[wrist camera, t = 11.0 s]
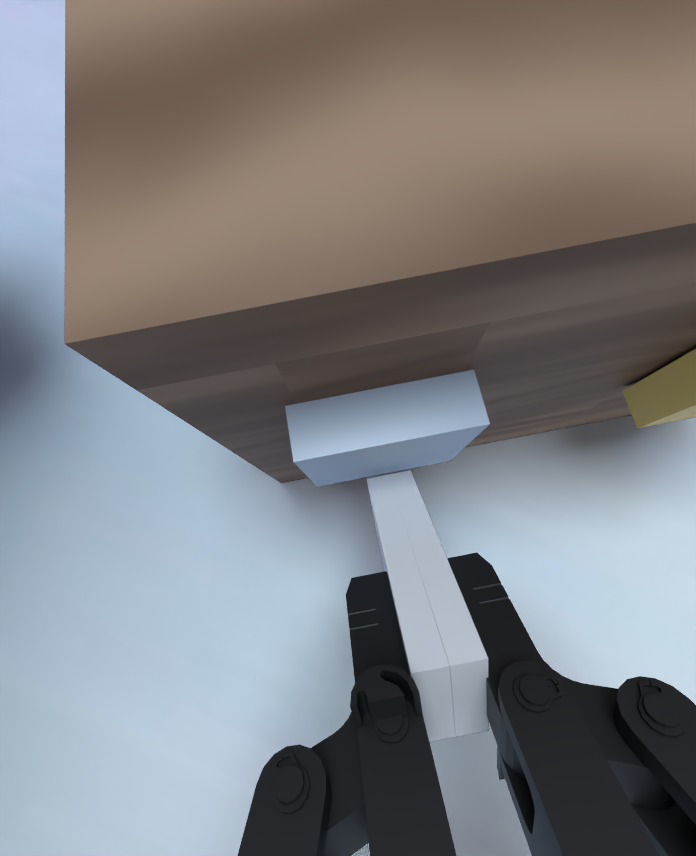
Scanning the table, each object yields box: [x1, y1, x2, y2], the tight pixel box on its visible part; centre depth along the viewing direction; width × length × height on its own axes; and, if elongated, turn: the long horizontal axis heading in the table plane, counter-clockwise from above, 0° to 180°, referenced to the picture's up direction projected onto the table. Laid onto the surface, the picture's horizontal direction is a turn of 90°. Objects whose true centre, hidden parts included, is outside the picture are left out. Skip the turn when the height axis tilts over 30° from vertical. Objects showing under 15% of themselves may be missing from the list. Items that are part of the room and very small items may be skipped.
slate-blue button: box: [285, 370, 490, 487], centre depth 13 cm, size 8×5×5 cm, turn 11°
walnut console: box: [65, 0, 696, 483], centre depth 15 cm, size 10×22×16 cm, turn 101°
